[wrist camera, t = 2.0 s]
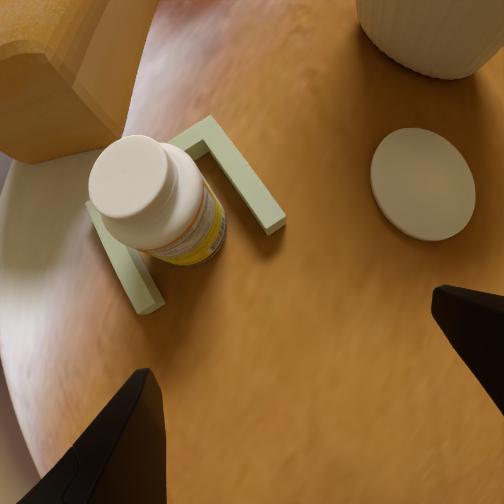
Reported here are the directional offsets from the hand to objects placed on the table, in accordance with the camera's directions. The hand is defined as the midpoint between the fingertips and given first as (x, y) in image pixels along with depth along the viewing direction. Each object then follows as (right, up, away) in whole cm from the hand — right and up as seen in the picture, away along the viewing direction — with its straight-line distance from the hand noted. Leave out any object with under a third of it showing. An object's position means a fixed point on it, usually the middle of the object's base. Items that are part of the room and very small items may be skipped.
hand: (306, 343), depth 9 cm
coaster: (+12, +8, +13) cm, 19 cm away
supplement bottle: (-6, +4, +14) cm, 16 cm away
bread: (-19, +23, +19) cm, 35 cm away
